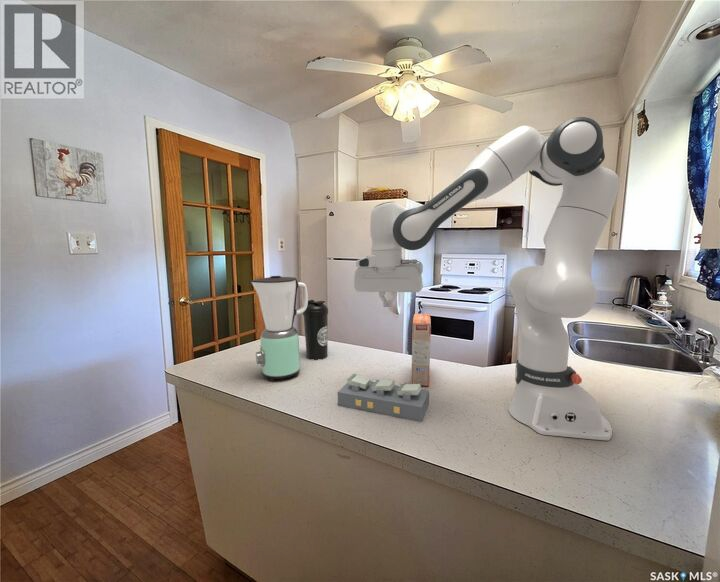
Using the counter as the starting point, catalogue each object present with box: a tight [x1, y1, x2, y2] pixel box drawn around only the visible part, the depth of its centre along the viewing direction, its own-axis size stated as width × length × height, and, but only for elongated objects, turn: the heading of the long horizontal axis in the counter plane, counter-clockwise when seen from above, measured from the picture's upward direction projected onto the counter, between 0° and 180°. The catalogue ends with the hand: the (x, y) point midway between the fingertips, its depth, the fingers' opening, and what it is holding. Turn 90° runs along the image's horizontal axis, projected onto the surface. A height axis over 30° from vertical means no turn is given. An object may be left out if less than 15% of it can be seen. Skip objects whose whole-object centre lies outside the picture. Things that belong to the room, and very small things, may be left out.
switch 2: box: [371, 379, 396, 391], centre depth 93 cm, size 6×4×2 cm
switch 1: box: [346, 373, 371, 389], centre depth 95 cm, size 6×4×2 cm
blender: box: [250, 275, 309, 383], centre depth 114 cm, size 19×13×35 cm
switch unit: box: [337, 380, 430, 423], centre depth 93 cm, size 24×10×6 cm, turn 67°
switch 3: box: [397, 383, 422, 395], centre depth 90 cm, size 6×4×2 cm
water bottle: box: [302, 299, 329, 361], centre depth 132 cm, size 10×10×23 cm
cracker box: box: [411, 313, 432, 387], centre depth 110 cm, size 14×6×21 cm, turn 168°
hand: (388, 306), depth 97 cm, fingers closed
